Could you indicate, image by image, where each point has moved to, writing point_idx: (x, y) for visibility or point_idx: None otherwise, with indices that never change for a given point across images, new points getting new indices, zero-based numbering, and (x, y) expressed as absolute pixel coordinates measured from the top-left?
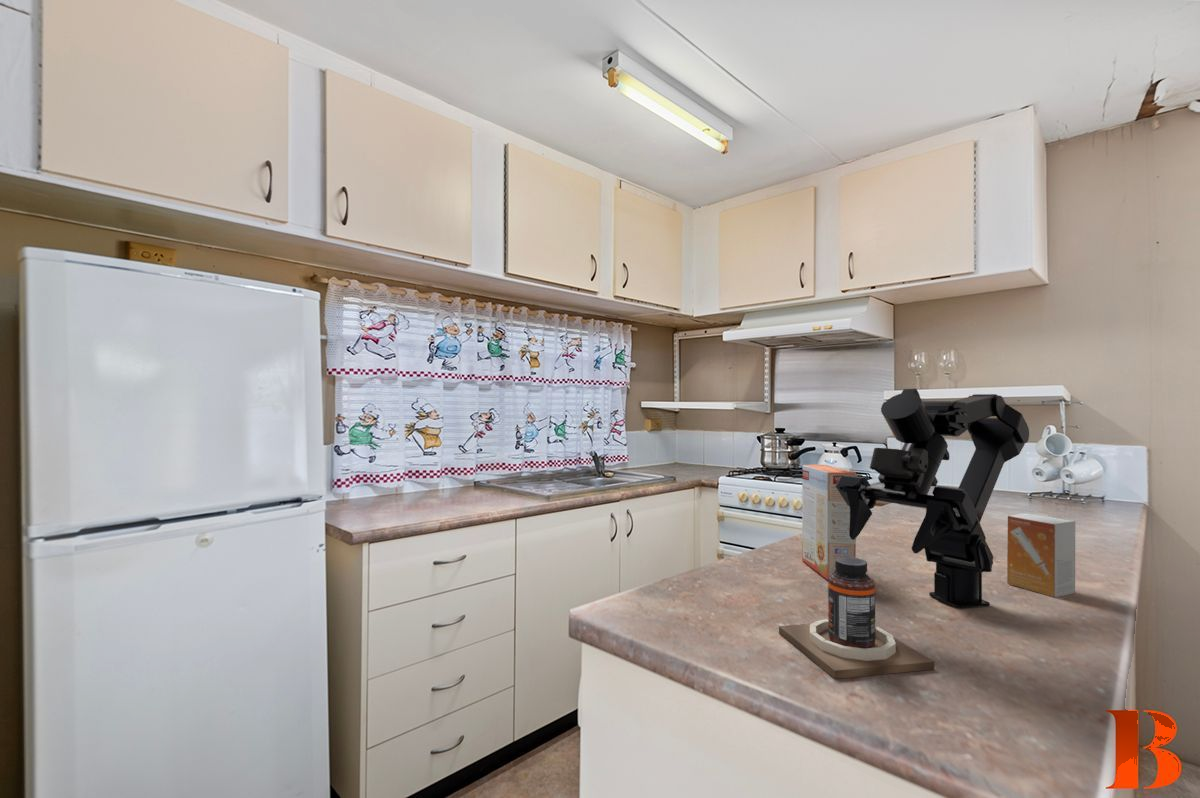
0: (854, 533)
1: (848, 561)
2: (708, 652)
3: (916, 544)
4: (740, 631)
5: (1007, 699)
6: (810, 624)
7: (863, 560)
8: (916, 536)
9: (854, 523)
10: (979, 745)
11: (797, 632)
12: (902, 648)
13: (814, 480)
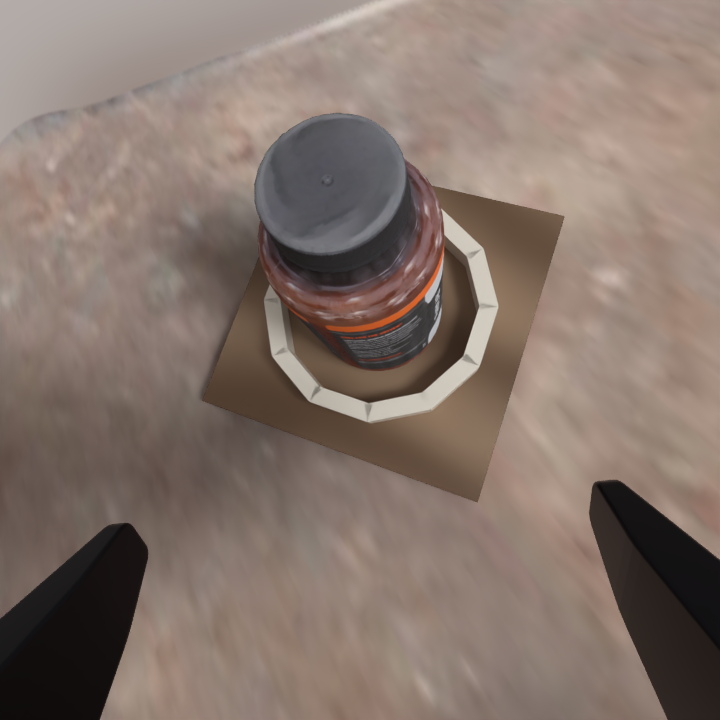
0: (608, 529)
1: (323, 155)
2: (543, 4)
3: (80, 549)
4: (620, 140)
5: (70, 405)
6: (483, 251)
7: (291, 235)
8: (51, 601)
9: (672, 576)
10: (50, 206)
11: (502, 232)
12: (284, 400)
13: None
